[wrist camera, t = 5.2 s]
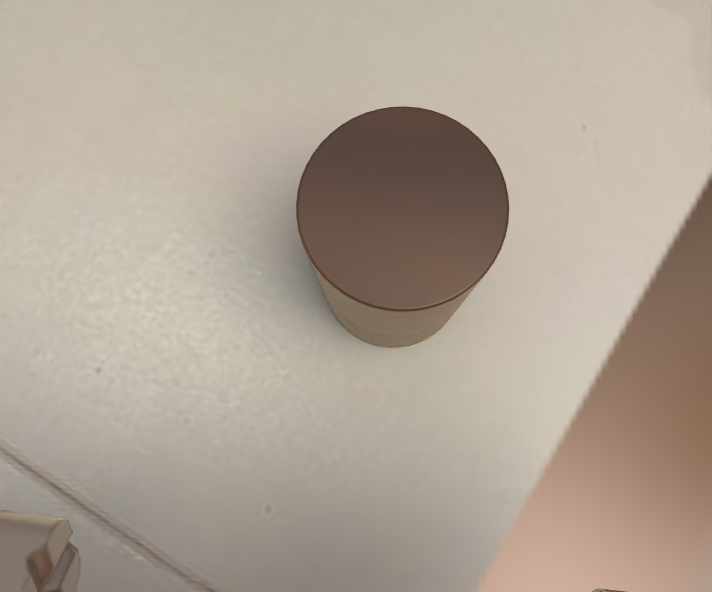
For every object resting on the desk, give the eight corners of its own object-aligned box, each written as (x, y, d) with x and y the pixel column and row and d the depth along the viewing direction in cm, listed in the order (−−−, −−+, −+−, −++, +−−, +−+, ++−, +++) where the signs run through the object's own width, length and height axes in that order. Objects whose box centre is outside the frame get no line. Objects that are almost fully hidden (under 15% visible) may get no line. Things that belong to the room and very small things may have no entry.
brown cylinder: (450, 358, 21) (494, 328, 14) (313, 334, 22) (277, 292, 14) (470, 224, 22) (522, 122, 14) (337, 203, 22) (316, 91, 14)
